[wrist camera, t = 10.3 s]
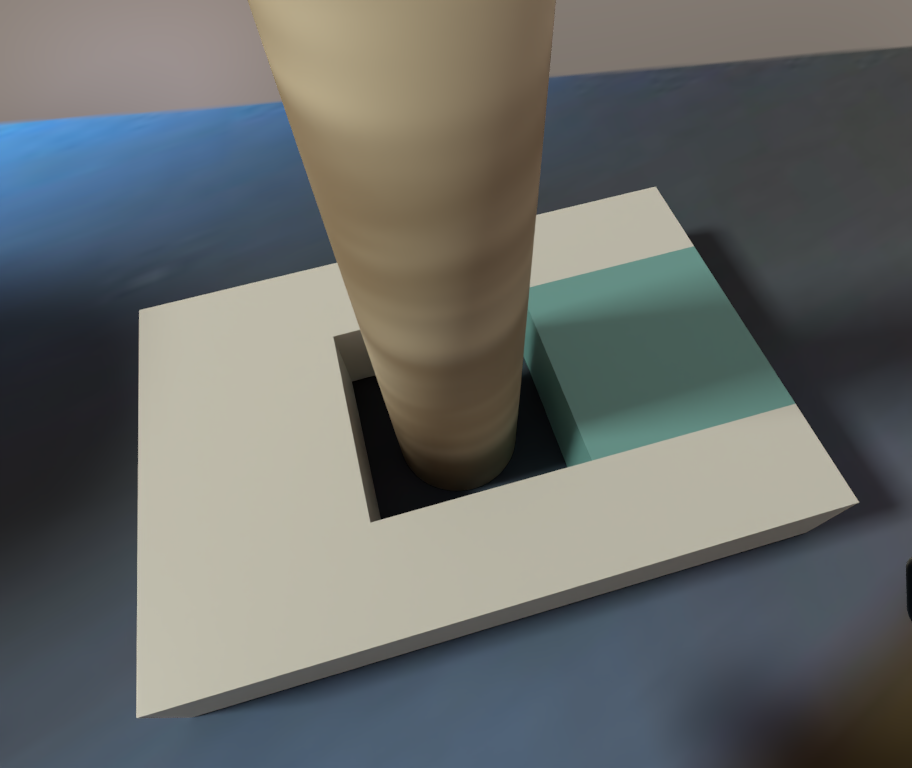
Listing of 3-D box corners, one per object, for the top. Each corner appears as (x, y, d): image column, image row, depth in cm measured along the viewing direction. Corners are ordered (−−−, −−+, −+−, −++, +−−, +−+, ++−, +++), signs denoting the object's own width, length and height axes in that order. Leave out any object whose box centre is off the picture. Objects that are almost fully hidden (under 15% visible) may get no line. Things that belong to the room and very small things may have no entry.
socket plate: (637, 242, 20) (655, 186, 18) (806, 532, 15) (858, 502, 13) (179, 356, 19) (138, 310, 17) (192, 717, 14) (136, 718, 12)
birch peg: (539, 443, 17) (669, -264, 5) (446, 515, 16) (300, -131, 4) (467, 365, 18) (421, -333, 6) (378, 427, 17) (111, -247, 5)
